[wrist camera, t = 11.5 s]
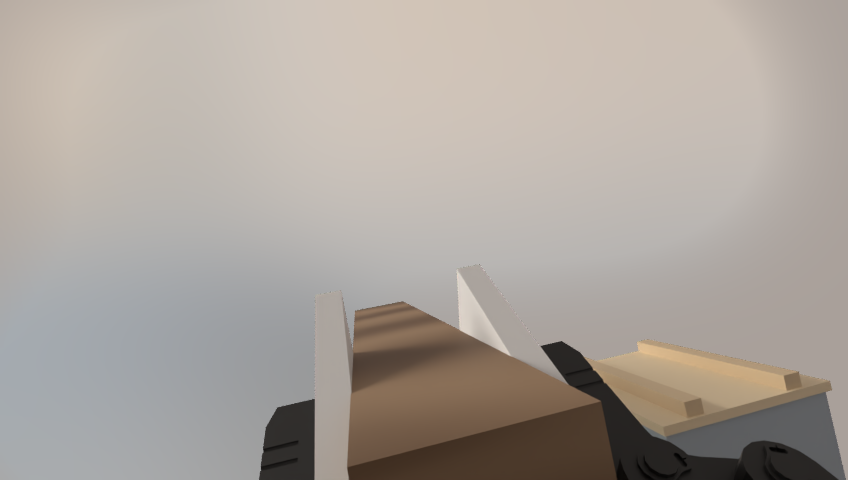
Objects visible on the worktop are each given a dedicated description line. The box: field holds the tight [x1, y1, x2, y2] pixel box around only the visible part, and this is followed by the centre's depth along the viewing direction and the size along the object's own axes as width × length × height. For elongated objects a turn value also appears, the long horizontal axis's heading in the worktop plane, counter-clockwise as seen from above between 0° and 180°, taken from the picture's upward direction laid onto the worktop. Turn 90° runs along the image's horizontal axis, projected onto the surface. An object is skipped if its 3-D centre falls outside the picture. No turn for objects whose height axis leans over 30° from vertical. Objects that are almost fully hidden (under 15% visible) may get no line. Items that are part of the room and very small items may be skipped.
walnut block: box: [347, 302, 617, 480], centre depth 18 cm, size 26×4×4 cm, turn 9°
